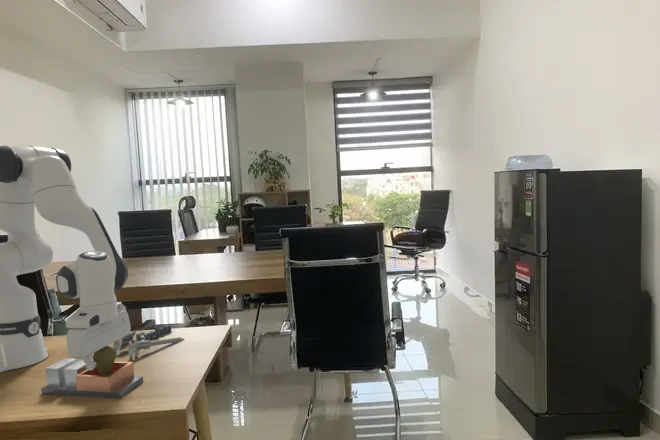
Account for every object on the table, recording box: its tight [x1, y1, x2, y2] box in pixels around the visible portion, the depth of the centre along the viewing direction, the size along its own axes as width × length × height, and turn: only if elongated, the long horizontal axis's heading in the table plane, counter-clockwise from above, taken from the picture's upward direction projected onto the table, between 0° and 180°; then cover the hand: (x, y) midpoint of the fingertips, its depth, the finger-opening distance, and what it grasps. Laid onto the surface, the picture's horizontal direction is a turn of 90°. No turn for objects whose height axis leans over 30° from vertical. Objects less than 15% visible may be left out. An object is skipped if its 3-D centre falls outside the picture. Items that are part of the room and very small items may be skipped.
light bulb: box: [92, 345, 117, 376], centre depth 126 cm, size 6×6×10 cm
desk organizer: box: [40, 357, 144, 399], centre depth 127 cm, size 24×10×6 cm, turn 77°
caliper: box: [127, 336, 185, 360], centre depth 155 cm, size 20×1×6 cm, turn 145°
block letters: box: [120, 324, 172, 351], centre depth 162 cm, size 25×2×6 cm, turn 155°
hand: (104, 362), depth 126 cm, fingers open, 8 cm apart
